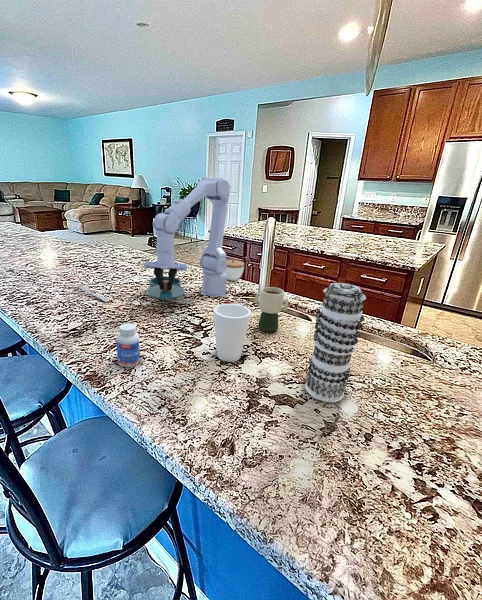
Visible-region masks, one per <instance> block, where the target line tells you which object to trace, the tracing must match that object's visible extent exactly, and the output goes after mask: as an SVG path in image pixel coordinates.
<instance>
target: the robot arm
mask: <svg viewBox="0 0 482 600" xmlns="http://www.w3.org/2000/svg"><path fill="white" fill-rule="evenodd" d="M230 193H231V184H230V182H229V181H228V179H227V178H226V177H208V176H204V177H202V178H201V179H200V180H198V182H197V185H196V186H195V187H194V188H193V189H192V190H191V192H189V193H188V195H186V196H185V198H184V199H182V198H179V199H175V200H174V201H173V202H174V203H173V204H171V205H170V206H169V207H168V208H166V209H165V210H164V212H160V213H158V214H156V215H155V217H154V218H153V221H152V227H153V229H154V230H155V235H156V261H144V262H143V269H147V270H148V269H152V270H153V275H154V276H155V277H156V278H157V280H158V283H159V287H160V290H162V281H163V276H164V270H168V272H167V273H168V277H169V291H171V289H172V284H173V280H174V278H176V276H177V273H178V271H183V272H188V263H181V262H175V233H176V232H177V231H178V229H179V226H180V224H181V222H182V221H183V220H184V219H186V217H188V215H190V213H191V211H192V209H191V208H192V207H193V206H194V205H196V204H197V203H198V202H199V201H201V200H202V199H204V198H206V199H207V200H209V201H210V202H211V204H212V213H211V221H210V228H209V236H208V242H207V246H206V247H205V248H204V249H203V250H202V253H201V256H200V259H199V267H200V268H201V270H202V272H203V274H202V275H203V277H202V278H203V279H202V289H201V292H200V295H203V296H217V297H218V296H219V297H225V296H226V291H227V285H226V284H227V279H226V273H223V272H224V271H225V269H226V266H227V262H226V260H227V253H226V252H225V250H224V249H223V244H224V243H223V242H224V237H225V235H224V234H225V227H226V221H227V214H228V207H229V199H230Z"/></svg>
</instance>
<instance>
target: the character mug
mask: <svg viewBox="0 0 482 600" xmlns="http://www.w3.org/2000/svg"><path fill="white" fill-rule="evenodd" d="M254 302H255V303H258V307H259V311H261V313H260V316H259V320H258V323H257V327H258V328H259V330H261V331H264V332H267V333H268V332H275V331H277V330H279V313H281V311H282V310H284V311H288V309H289V300H288V299H285V291H284V289H282V288H279V287H274V286H265V287H261V289H260V292H258V291H256V292H255V298H254Z"/></svg>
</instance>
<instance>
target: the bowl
mask: <svg viewBox="0 0 482 600" xmlns="http://www.w3.org/2000/svg"><path fill="white" fill-rule="evenodd" d="M164 280H168V281H169V276H167V275H166V276H164V275H163V281H164ZM157 285H159V283H158V280H157V278H156V276H155V277H153V278H152V277H151V278H150V279H149V281H148V289H149V288H150V287H153V286H157ZM172 285H174V286H179V287H181V288H182V280H181V279H180V278H178V277H175V278H174V280H173V284H172Z"/></svg>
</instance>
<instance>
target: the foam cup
mask: <svg viewBox="0 0 482 600" xmlns="http://www.w3.org/2000/svg"><path fill="white" fill-rule="evenodd" d="M251 315H252V311H251V309H250V308H249V307H248V306H244V305H242V304H237V303H222V304H218V305H216V306H215V307H214V308H213V317H212V319H213V323H214V335H215V348H216V356H217V358H218V359H220V360H221V361H222V362H223V361H224V362H227V363H232V362H237V361H239V360H240V359H241V356H242V355H243V354H242V353H243V350H244V345H245V341H246V337H247V333H248V329H249V325H250V323H251Z"/></svg>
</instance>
